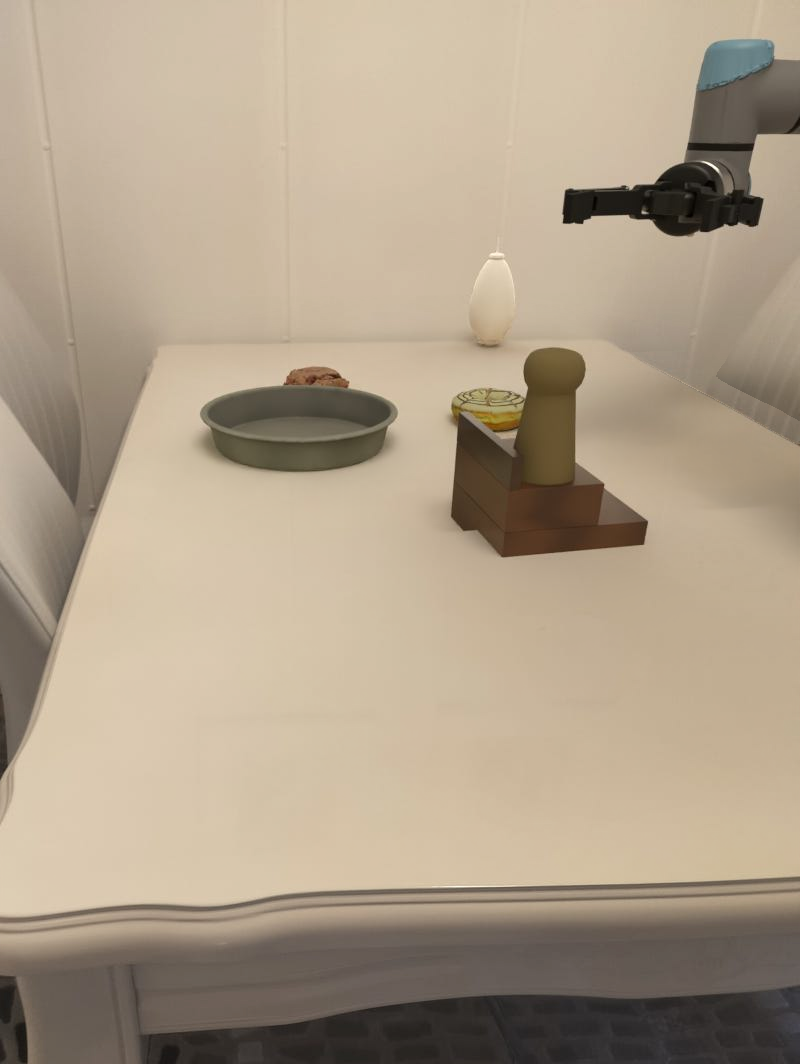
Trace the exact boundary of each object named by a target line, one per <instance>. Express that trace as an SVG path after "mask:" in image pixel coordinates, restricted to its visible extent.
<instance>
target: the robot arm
mask: <svg viewBox="0 0 800 1064" xmlns="http://www.w3.org/2000/svg"><path fill="white" fill-rule="evenodd" d="M702 59H703V60H702V63H701V66H700V70H699V75H698V79H697V83H696V85H695V95H694V101H693V102H694V103H693V109H692V117H691V123H690V130H689V137H688V142H687V145H686V149H685V153H684V158H683V159H684V160H683V162H681V163H678V164H675V165H672V166H671V167H669V168H668V169H666V170H665V171H664V172H662V174H660V175H659V177H658V178H657V179H656V180H655V181H654V183H648V184H647V183H645V184H635V185H634V186H633V187H632V188H631V189H630V186H629V185H626V184H621V186H614V187H613V186H612V187H594V188H575V189H574V188H571V187H569V188H567V189H564V193H563V194H564V195H563V203H562V211H561V215H562V216H563V217H562V224H563V225H572V224H575V225H584V223H585V221H587V220H588V221H589V220H591V219H592V217H611V216H615V217H616V216H628V217H629V218H630V219H632V220H637V221H642V220H643V221H644V220H648V221H651V222H652V223H653V225H654V226H655V227H656V229H657V230H659V231H660V232H662V233H663V234H665V235H667V236H670V237H676V238H677V237H678V238H679V237H680V238H681V237H687V238H692V237H694V236H695V233H698V232H699V233H710V232H713V231H716V230H718V229H720V228H724V226H725V225H726V226H728V227H735V226H738V225H739V224H741V225H744V226H748V227H749V228H754V227H757V226H759V223H760V219H761V214H762V210H763V205H764V200H765V198H763V197H761V196H756V195H752V194H751V192H752V177H751V174H750V171H749V170H750V167H751V162H752V158H753V157H752V156H753V152H754V149H755V142H756V140H757V137H758V135H800V60H797V59H777V58H775V43H774V42H773V41H772V40H770V39H761V38H746V39H745V38H740V39H739V38H738V39H736V38H735V39H723V40H717V41H714V42H712V43H711V44H709V46H708V47H707V48H706V50H705V52H704V55H703V58H702Z"/></svg>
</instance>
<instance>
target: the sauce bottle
mask: <svg viewBox="0 0 800 1064" xmlns="http://www.w3.org/2000/svg"><path fill="white" fill-rule="evenodd" d="M488 258H489V259H488V260H487V261H486V262H485V263H484V264H483V266H482V268H481V269H480V271H479V273H478V275H477V277H476V279H475V282H474V285H473V288H472V292H471V296H470V301H469V311H468V316H469V317H468V318H469V319H468V320H469V326H470V328H471V332H472V334H473V337H475V338H476V339H478V342H479V343H481V344H483V346H484V347H494V346H495V345H497V344H499V343H500V341H501V340H503V339H505V338H506V336H507V335H508V334H509V332H510V329H511V328H512V325H513V322H514V319H515V313H516V303H517V301H516V299H517V298H516V287H515V282H514V278H513V275H512V271H511V269H510V266H509V265H508V263H507V261H506V260H505V258H506V255H505V254H504V253H502V252H500V237H499V236H498V237H497V241H496V247H495V252H492V253H490V254H489V255H488Z"/></svg>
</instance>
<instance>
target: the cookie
mask: <svg viewBox="0 0 800 1064" xmlns="http://www.w3.org/2000/svg"><path fill="white" fill-rule="evenodd" d="M283 385H320V386H334V387H343V388H349V385H350V380H347V379H346V378H345V377H342V375H341V374H340V373H339V372H338V370H335V369H333V368H331V367H328V366H315V365H313V366H306V367H303V368H297V369H296V368H294V369H292V370H290V372H289V375H287V376H286V379H285V382H283V384H282V386H283Z"/></svg>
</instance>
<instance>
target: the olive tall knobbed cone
mask: <svg viewBox="0 0 800 1064" xmlns="http://www.w3.org/2000/svg"><path fill="white" fill-rule="evenodd" d="M586 368H587V367H586V361H585V359H584V357H583V355H582V354H580V352H578V351H575V350H573V349H569V348H564V347H555V346H553V347H552V346H551V347H542V348H537V349H534V350H533V351H531V352H530V353H529V355H527V356H526V359H525V361H524V363H523V368H522V369H523V371H522V373H523V381H524V383H525V385H526V387H527V390H526V393H525V397H524V398H525V402H524V406H523V410H522V414H521V418H520V422H519V426H517V431H516V434H515V437H514V438H515V442H514V446H513V448H514V449H515V450H516V451H517V452H519V453H520V454H521V455H522V456H523V457H524V459H523V468H522V477H521V481H522V482H526V483H531V484H537V485H558V484H564V483H568V482H570V481H572V480H573V479H574V478H575V462H576V432H577V431H576V430H577V429H576V428H577V427H576V424H577V423H576V422H577V417H576V416H577V415H576V414H577V411H576V410H577V390H578V388H580V387H581V385H583V382H584V379H585V377H586V371H587V369H586Z"/></svg>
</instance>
